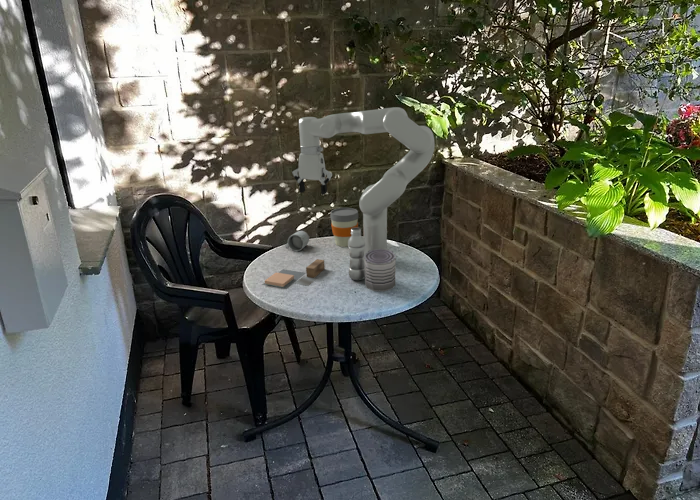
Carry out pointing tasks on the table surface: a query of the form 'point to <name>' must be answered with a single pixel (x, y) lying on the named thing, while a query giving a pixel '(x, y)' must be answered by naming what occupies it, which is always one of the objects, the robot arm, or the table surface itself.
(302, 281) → the tall brown block
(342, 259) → the table surface
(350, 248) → the silver bottle
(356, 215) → the reusable coffee cup
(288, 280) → the tile
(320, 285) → the table surface
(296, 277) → the mat
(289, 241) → the ceramic mug
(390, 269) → the ribbed tin
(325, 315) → the table surface
